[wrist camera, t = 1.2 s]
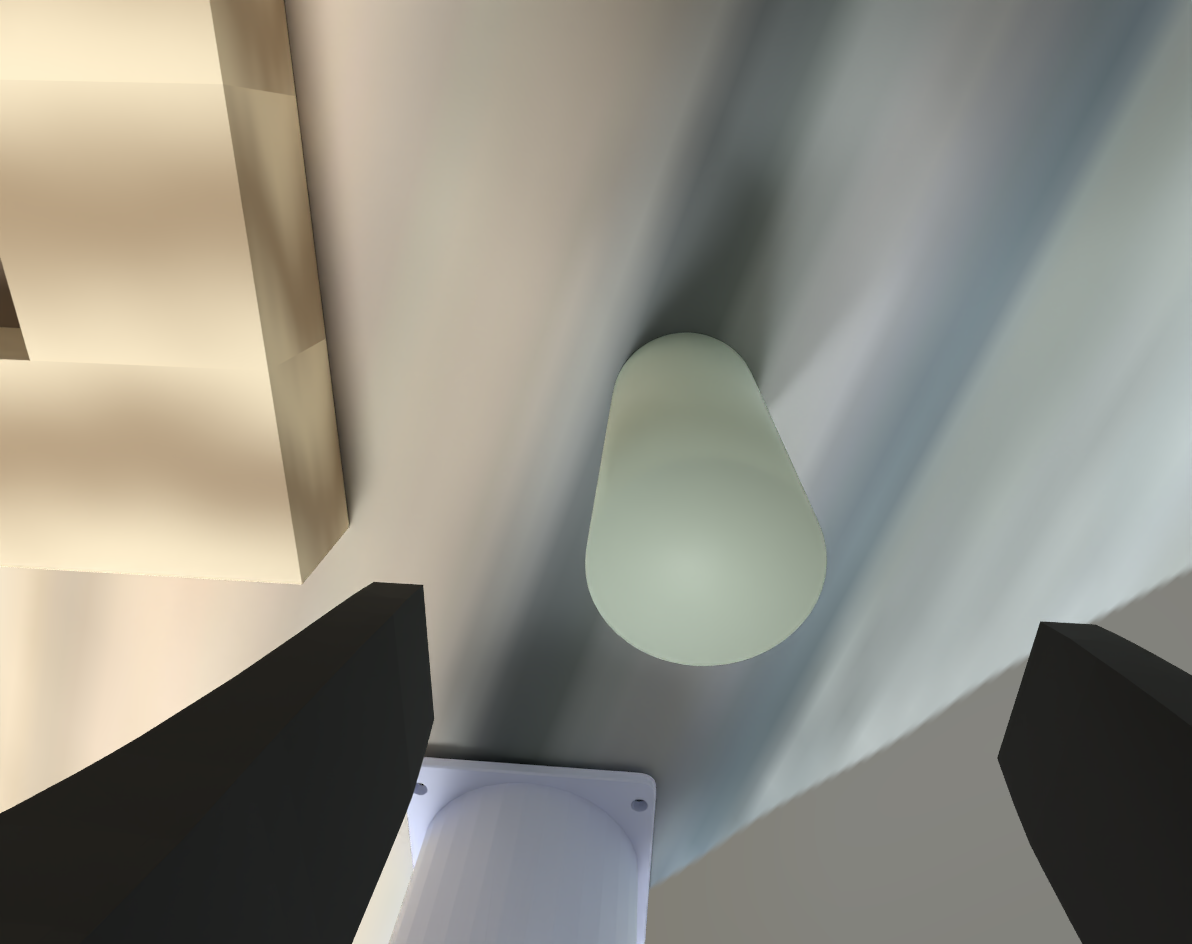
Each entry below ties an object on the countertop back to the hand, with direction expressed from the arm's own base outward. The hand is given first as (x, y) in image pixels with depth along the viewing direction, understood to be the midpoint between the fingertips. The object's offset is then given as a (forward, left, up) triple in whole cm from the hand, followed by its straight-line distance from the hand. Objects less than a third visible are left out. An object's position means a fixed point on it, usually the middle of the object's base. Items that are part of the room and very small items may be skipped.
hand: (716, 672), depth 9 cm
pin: (0, 0, -10) cm, 10 cm away
